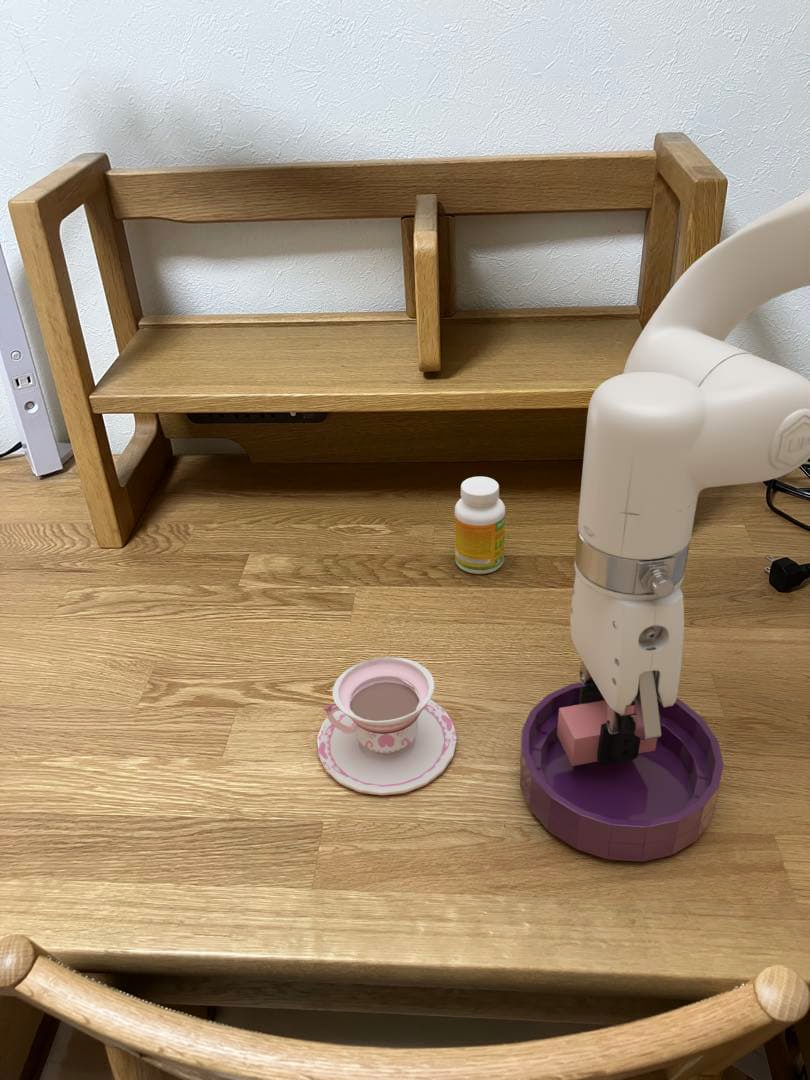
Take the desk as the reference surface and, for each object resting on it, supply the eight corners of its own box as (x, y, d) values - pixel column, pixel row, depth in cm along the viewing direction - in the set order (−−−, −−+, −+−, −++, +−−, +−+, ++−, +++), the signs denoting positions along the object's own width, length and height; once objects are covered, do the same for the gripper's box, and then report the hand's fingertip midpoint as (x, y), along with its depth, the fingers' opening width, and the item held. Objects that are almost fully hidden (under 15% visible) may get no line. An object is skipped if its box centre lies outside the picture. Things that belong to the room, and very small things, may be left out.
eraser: (637, 719, 74) (641, 693, 73) (655, 750, 71) (660, 723, 70) (556, 734, 73) (558, 707, 71) (572, 766, 70) (574, 739, 69)
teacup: (433, 682, 83) (432, 630, 80) (475, 778, 73) (476, 724, 70) (306, 710, 81) (299, 657, 77) (332, 812, 71) (325, 758, 68)
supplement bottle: (502, 577, 96) (504, 499, 91) (452, 574, 97) (451, 497, 92) (505, 549, 101) (507, 473, 95) (457, 546, 102) (457, 471, 96)
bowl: (661, 704, 80) (667, 666, 77) (750, 843, 67) (761, 803, 65) (496, 734, 77) (497, 696, 75) (557, 884, 65) (561, 845, 62)
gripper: (742, 616, 56) (698, 812, 66) (632, 486, 69) (609, 666, 79) (628, 634, 55) (601, 831, 65) (539, 499, 68) (529, 679, 78)
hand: (606, 738), depth 72 cm, fingers closed on eraser, 3 cm apart
